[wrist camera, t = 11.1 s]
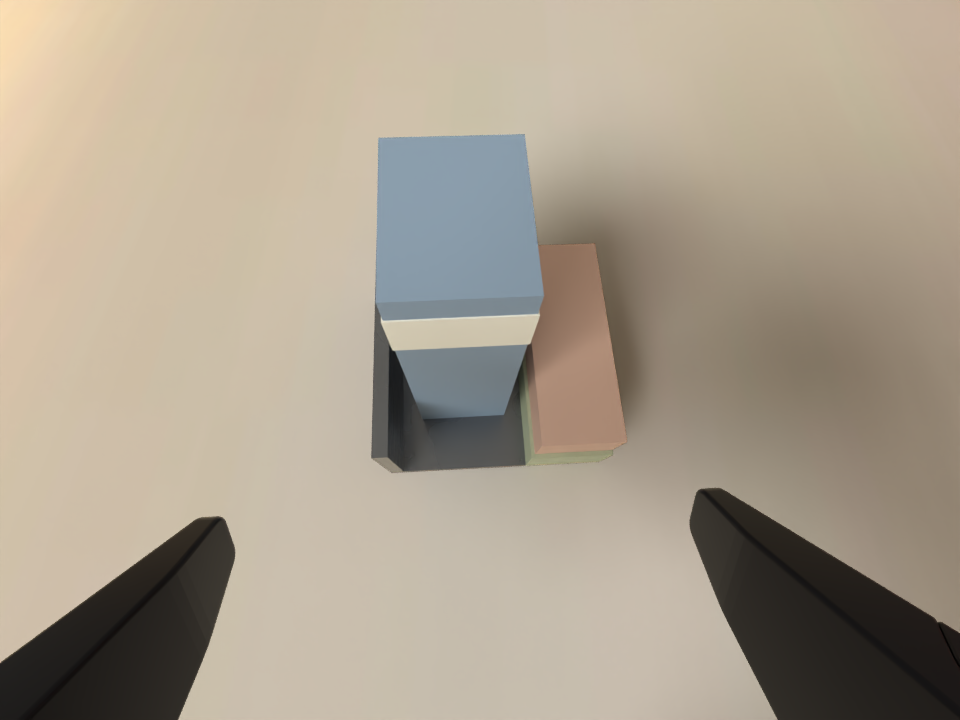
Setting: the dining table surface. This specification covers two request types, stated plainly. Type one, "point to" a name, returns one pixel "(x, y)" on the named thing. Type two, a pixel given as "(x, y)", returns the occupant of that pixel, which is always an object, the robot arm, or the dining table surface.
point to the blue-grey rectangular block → (457, 267)
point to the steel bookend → (435, 425)
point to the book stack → (570, 365)
